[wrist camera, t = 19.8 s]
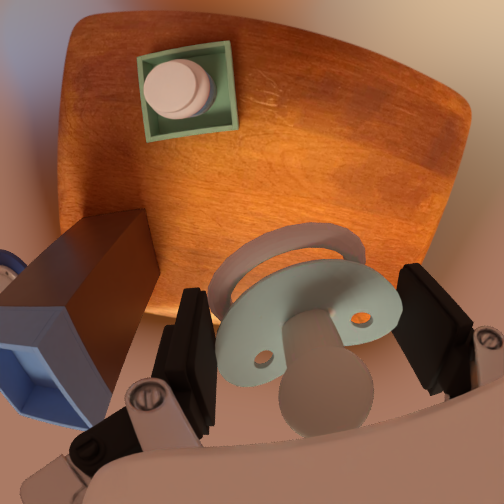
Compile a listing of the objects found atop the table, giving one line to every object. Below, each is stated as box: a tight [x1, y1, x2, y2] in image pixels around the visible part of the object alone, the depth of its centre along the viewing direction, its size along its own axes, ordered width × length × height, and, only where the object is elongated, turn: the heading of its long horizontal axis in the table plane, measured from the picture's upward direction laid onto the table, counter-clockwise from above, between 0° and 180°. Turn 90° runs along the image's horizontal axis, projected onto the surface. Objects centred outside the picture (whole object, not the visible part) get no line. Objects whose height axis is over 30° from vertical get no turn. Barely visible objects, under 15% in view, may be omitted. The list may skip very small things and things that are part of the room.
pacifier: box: [207, 222, 403, 438], centre depth 9 cm, size 7×6×6 cm
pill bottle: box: [144, 59, 217, 119], centre depth 27 cm, size 6×6×11 cm
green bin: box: [137, 41, 239, 143], centre depth 30 cm, size 10×10×5 cm
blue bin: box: [0, 208, 160, 431], centre depth 29 cm, size 10×10×27 cm
